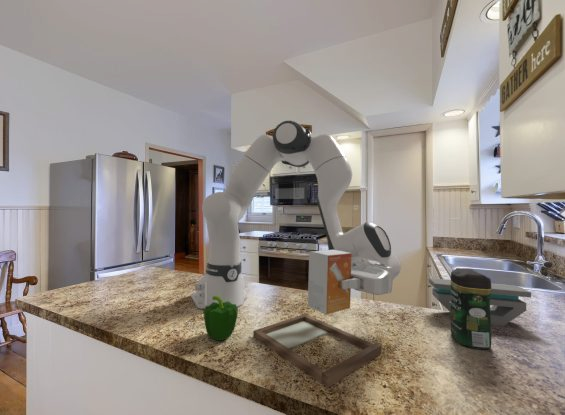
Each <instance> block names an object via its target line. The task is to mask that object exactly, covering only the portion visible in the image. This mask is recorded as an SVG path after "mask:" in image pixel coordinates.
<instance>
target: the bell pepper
mask: <svg viewBox="0 0 565 415" xmlns="http://www.w3.org/2000/svg"><path fill="white" fill-rule="evenodd" d="M212 298H213V300H217V301H218V302H219V303H214V302H213V303H212V304H210V305H209V306H206V308H204V309H203V320H204V326H205V330H206V333H207V335H208V336H209V337H210V338H212V339H213V340H214V341H225V340H227V339H228V338H229V337H230V336H231V335H233V332H234V330H235V327H236V324H237V320H238V311H239V310H238V309H239V308H238V307H237V306H236V304H231V303H230V302H229V301H228V302H224V303H223V302H222V299H221V298H220V297H218V296H214V297H212Z"/></svg>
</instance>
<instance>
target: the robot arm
mask: <svg viewBox="0 0 565 415" xmlns="http://www.w3.org/2000/svg"><path fill="white" fill-rule="evenodd" d="M279 162H281V163H282V164H284V165H286V166H287V165H288V166H291V167H294V168H295V167H296V168H304V167H306V166H308V165H309V164H310V166H311V167H312V169H313V171H314V174H315V177H316V179H317V194H316V202H317V206H318V211H319V214H320V218H321V221H322V225H323V229H324V233H325V236H326V240H327V249H328V250H338V251H343V252H349V253H352V258H351V279H347V280H345V279H341V280H339V281H338V287H339V288H341V289H347V288H350V289H353V290H354V291H359V292H364V293H367V294H371V295H374V296H383V295H385V294H387V295H388V294H392V290H393V281H395V280H396V279H397V278H398V277H399V276H400V273H401V270H402V264H401V262H400V259H399V258H398V257H397V255H396V254H395V253H393V252H392V246H391V245H392V244H391V241H390V238H389V236H388V234H387V232H386V231H385V230H384V229H383V228H382V227H381V226H379V225H378V224H376V223H374V222H371V221H366V222H364V223H362V224H360V225H358V226H355V227H353V228H352V229H350V230H348V231H346V232H344V231H343V228H342V225H341V220H340V217H339V214H338V204H339V202H340V200H341V198H342V197H343V195H344V193H345V192H346V191H347V189H348V188H349V186H350V184H351V182H352V177H353V170H352V168H351V164H350V162H349V161H348V158H347V157H346V155H345V152H344V151H343V150H342V148H341V147H340V145H339V143H338V142H337V141H336V140H335V138H334V137H333V136H332V135H330V134H326V133H325V134H320V135H316V136H312V132H311V130H309V129H307V128H305V127H303V126H302V125H301V124H299V123H298V122H296V121H293V120H284V121H282V122H280V123H278V124H277V125H276V126H275V128H274V130H273V133H272V135H269V134H261V135H259V136H258V137H257V138H256V139H255V140H254V141H253V143H252V144H250V146H249V147H248V148H247V149H246V151H245V153H244V154H243V155H242V157H241V158H240V159H239V161H238V162H237V164H236V165H235V167H234V168H233V169H232V172H231V174H230V177H229V180H228V183H227V185H226V188H225V190H224V191H217V192H213V193H211V194H209V195H207V196H206V197H205V199H204V200H203V202H202V206H201V211H202V215H203V217H204V218H205V223H206V231H207V234H208V236H207V237H208V262H206V269H205V273H204V275H203V276H202V277H201V278H200V279H198V281H197V284H195V286H194V287H195V288H194V289H195V292H194V291H193V292H192V293H190V298H191V299H192V301H193V303H194V304H195V307H196V308H197V309H202V310H205V308H206V306H209V305H210V304H212V303H213V302H214V303H219V302H218V301H217V300H213V298H212V297H214V296H218V297H220V298H221V299H222V302H223V303H224V302H228V301H229V302H230V303H231V304H236V306H237V308H238V307H240V306H242V305H243V304H244V302H245V300H246V299H247V297H248V296H247V294H245V283H244V276H243V275H242V274H241V273H242V262H241V251H242V250H241V249H242V248H241V246H242V244H241V243H242V240H241V237H240V232H239V221H241V220H242V219H243V218H244V216H245V214H246V212H247V211H248V209H249V207H250V205H251V203H252V201H253V200H254V197H255V195H256V194H257V192H258V190H259V189H260V187H261V186H262V184H263V183H264V181H265V180H266V179H267V177H268V176H269V174H270V172H272V169H273V168H275V167H274V166H275V165H276V164H277V163H279Z"/></svg>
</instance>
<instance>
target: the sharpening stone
mask: <svg viewBox="0 0 565 415" xmlns="http://www.w3.org/2000/svg"><path fill="white" fill-rule="evenodd" d="M428 284H430V285H431V286H432V289H431V291H432V292H431V294H432V295H433V297H434V298H435V299H436V300H437V301H438V302H439V303H440V304H441V305H442V306H443V307H444V308H445V309H446V310H447V311H448V312H449V313H450V314H451V279H444V278H434V277H433V278H432V277H428ZM491 287H492V288H491V297H490V317H491V326H497V327H505V326H506V325H508V324H509V323H510V322H512V321H513V320H515V319H516V318H518V317H520V315H522V314H524V313H525V312H527V302H525V301H523V300H521V299H520V298H521V297H523V298H532V292H531V291H529V290H527V289H524V288H523V287H520V286H519V285H517V284H513V285H512V284H505V283H503V284H502V283H493V282H491ZM519 297H520V298H519Z"/></svg>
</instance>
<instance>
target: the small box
mask: <svg viewBox="0 0 565 415" xmlns="http://www.w3.org/2000/svg"><path fill="white" fill-rule="evenodd" d="M351 258H352V253H349V252H343V251H338V250H327V249H325V250H316V251H315V250H314V251H308V259H309V260H308V282H307V284H308V285H307V286H308V288H307V290H308V291H307V307H309V308H310V309H312V310H314V311H317V312H319V313H321V314H324V315H326V316H327V315H330V314H333V313H337V312H340V311H345V310H348V309H351V296H352V295H351V289H350V288H347V289H341V288H339V287H338V281H339V280H341V279H345V280H347V279H351Z"/></svg>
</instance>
